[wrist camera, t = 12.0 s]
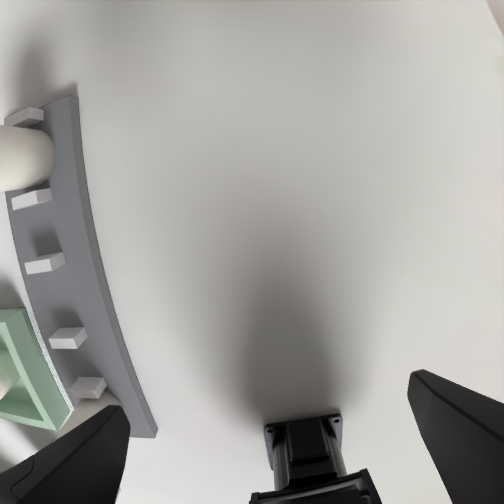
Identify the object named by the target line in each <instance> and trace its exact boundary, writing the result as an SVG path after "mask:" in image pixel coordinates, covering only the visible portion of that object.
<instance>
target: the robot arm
mask: <svg viewBox="0 0 504 504" xmlns="http://www.w3.org/2000/svg"><path fill="white" fill-rule="evenodd" d="M407 395H408V400H409V403H410V406H411V408H412V411H413V414H414V417H415V420H416V422H417V425H418V428H419V431H420V434H421V436H422V438H423V441H424V443H425V445H426V447H427V449H428V451H429V453H430V455H431V457H432V459H433V461H434V464H435V466H436V468H437V470H438V472H439V474H440V476H441V479H442V481H443V483H444V485H445V487H446V490H447V492H448V494H449V496H450V499H451V501H452V503H453V504H504V403H501V402H499V401H496V400H494V399H492V398H489V397H487V396H484V395H482V394H480V393H477V392H475V391H473V390H470V389H468V388H466V387H463V386H461V385H459V384H456V383H454V382H452V381H449V380H447V379H445V378H442V377H440V376H438V375H436V374H433V373H431V372H429V371H427V370H424V369H421V370H417V371H414V372H412V373H411V375H410V379H409V386H408V392H407ZM336 419H337V420H336ZM342 424H343V419H342V416H341V415H340V414H333V415H328V416H322V417H316V418H310V419H304V420H297V421H290V422H282V423H273V424H267V425H265V427H264V433H265V439H266V445H267V450H268V455H269V461H270V466H271V470H273V471H274V485H275V491H270V492H263V493H259V492H256V493H252V495H251V501H249V504H382V502H381V499H380V497H379V494H378V492H377V490H376V488H375V486H374V483H373V481H372V479H371V477H370V474H369V472H368V470H367V468H366V469H362V470H360V471H359V472H356V473H352V474H349V475H347V472H346V468H345V465H344V461H343V458H342V454H341V443H342ZM269 429H272V430H269ZM130 431H131V426H130V422H129V420H128V418H127V416H126V414H125V412H124V410H123V408H122V406H120V405H108V406H106V407H105V408H103V409H102V410H100V411H99V412H98V413H96V414H95V415H93V416H92V417H90V418H89V419H87V420H86V421H84V422H83V423H81V424H80V425H78V426H77V427H75V428H74V429H72V430H71V431H69V432H68V433H66V434H65V435H63V436H62V437H60V438H59V439H57V440H55V441H54V442H52V443H51V444H49V445H48V446H46V447H45V448H43V449H42V450H40V451H38V452H37V453H35V455H32V456H30V457H29V458H27V459H26V460H24V461H22V462H21V463H19V464H17V465H16V466H14V467H12V468H10V469H8V470H6V471H4V472H2V473H0V504H115V502H116V498H117V494H118V490H119V486H120V483H121V479H122V475H123V472H124V468H125V462H126V456H127V449H128V443H129V437H130Z"/></svg>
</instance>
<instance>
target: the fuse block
mask: <svg viewBox="0 0 504 504" xmlns="http://www.w3.org/2000/svg"><path fill="white" fill-rule="evenodd" d="M4 191H5V195H6V202H7V208H8V214H9V220H10V225H11V230H12V235H13V240H14V244H15V249H16V253H17V257H18V261H19V265H20V269H21V273H22V276H23V280H24V283H25V287H26V290H27V294H28V297H29V300H30V303H31V306H32V309H33V312H34V315H35V318H36V321H37V324H38V327H39V329H40V332H41V335H42V337H43V340H44V343H45V345H46V348H47V350H48V353H49V355H50V357H51V360H52V362H53V364H54V367H55V369H56V371H57V373H58V376H59V378H60V380H61V382H62V384H63V386H64V389H65V391H66V393H67V395H68V397H69V399H70V401H71V403H72V405H73V407H74V411H73V412H72V414H71V416H70V417H69V419H68V420H67V422H66V423H65V425H64V426H63V428H62V429H61V431H60V432H59V434H58V435H57V437H56V438H55V439H54V440H53V441H52V442H54V441H55V440H57V439H59V438H60V437H62V436H63V435H65V434H66V433H68V432H69V431H71V430H72V429H74V428H75V427H77V426H78V425H80V424H81V423H83V422H84V421H86V420H87V419H89V418H90V417H92V416H93V415H95V414H96V413H98V412H99V411H100V410H102V409H103V408H105V407H106V406H108V405H120V406H122V408H123V410H124V412H125V414H126V416H127V418H128V420H129V422H130V426H131V431H130V437H138V438H155V437H156V434H157V431H158V428H157V426H156V424H155V421H154V419H153V417H152V414H151V412H150V409H149V407H148V405H147V402H146V400H145V397H144V395H143V392H142V390H141V387H140V384H139V382H138V379H137V376H136V374H135V371H134V368H133V365H132V363H131V360H130V357H129V354H128V351H127V348H126V345H125V342H124V339H123V336H122V333H121V330H120V326H119V323H118V320H117V317H116V313H115V310H114V306H113V303H112V299H111V296H110V292H109V288H108V284H107V281H106V277H105V273H104V269H103V264H102V260H101V256H100V251H99V247H98V242H97V238H96V233H95V228H94V223H93V218H92V212H91V207H90V201H89V195H88V188H87V182H86V175H85V168H84V160H83V151H82V142H81V132H80V120H79V106H78V98H76V97H73V96H71V95H69V96H66V97H63V98H61V99H59V100H56V101H54V102H51V103H49V104H47V105H44V106H42V107H40V108H38V109H37V108H33V107H27V108H24V109H22V110H20V111H18V112H16V113H14V114H12V115H11V116H9V117H7V118H5V119H4V125H3V126H2V125H0V192H4ZM52 442H51V443H52Z"/></svg>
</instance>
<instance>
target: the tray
mask: <svg viewBox="0 0 504 504" xmlns="http://www.w3.org/2000/svg"><path fill="white" fill-rule="evenodd" d="M0 346H1V347H3V348H5V349H7V350H8V351H9V352H10V354H11V357H12V359H13V361H14V363H15V366H16V368H17V370H18V372H19V374H20V376H21V378H20V380H19V381H18V382H17V383H16V384H15V385H14V386H13V387H12V388H11V389H10V390H9V391H8V392H7V393H6V394H5V396H4V397H3V398H2V399H1V400H0V418H2V419H6V420H10V421H14V422H18V423H22V424H26V425H30V426H35V427H40V428H44V429H50V430H55V431H58V429H59V428H60V426H61V424H62V423H63V421H64V420H65V418H66V417H67V415H68V414H69V412H70V411H69V409H68V407H67V405H66V403H65V401H64V399H63V397H62V395H61V393H60V391H59V389H58V387H57V385H56V383H55V381H54V379H53V376H52V374H51V372H50V370H49V368H48V365H47V363H46V361H45V358H44V356H43V354H42V351H41V349H40V346H39V344H38V341H37V339H36V336H35V333H34V331H33V328H32V325H31V323H30V320H29V317H28V314H27V311H26V308H13V309H0Z"/></svg>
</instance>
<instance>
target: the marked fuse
mask: <svg viewBox="0 0 504 504" xmlns="http://www.w3.org/2000/svg"><path fill="white" fill-rule="evenodd" d="M20 378H21V376H20V374H19V372H18V370H17V368H16V366H15V363H14V361H13V359H12V357H11V354H10V352H9V351H8V350H7V349H5V348H3V347H1V346H0V400H1V399H2V398H3V397H4V396H5V394H6V393H7V392H8V391H9V390H10V389H11V388H12V387H13V386H14V385H15V384H16V383H17V382H18V381H19V380H20Z"/></svg>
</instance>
